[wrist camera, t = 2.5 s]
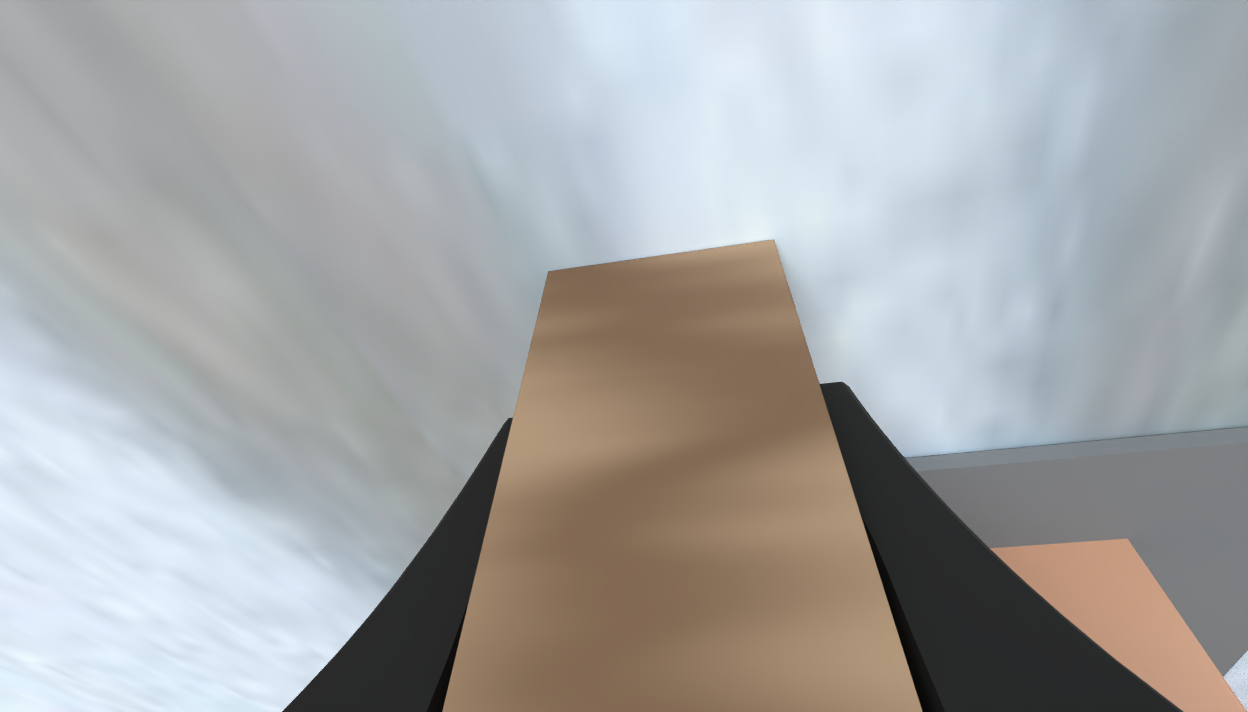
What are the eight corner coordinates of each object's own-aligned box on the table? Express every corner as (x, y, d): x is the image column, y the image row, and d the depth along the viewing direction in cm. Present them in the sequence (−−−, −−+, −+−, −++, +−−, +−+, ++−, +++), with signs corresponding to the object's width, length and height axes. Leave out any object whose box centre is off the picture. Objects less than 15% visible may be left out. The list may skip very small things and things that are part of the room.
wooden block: (774, 239, 11) (1007, 975, 4) (779, 406, 13) (925, 1036, 6) (547, 271, 11) (381, 964, 4) (594, 426, 14) (536, 1024, 7)
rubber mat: (1438, 409, 13) (1457, 424, 12) (1158, 726, 22) (1166, 738, 22) (652, 481, 15) (652, 494, 14) (713, 740, 25) (714, 752, 24)
